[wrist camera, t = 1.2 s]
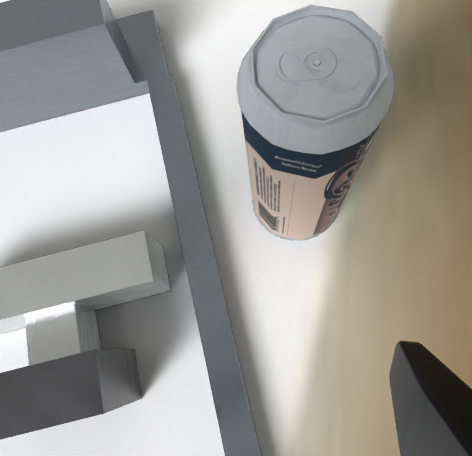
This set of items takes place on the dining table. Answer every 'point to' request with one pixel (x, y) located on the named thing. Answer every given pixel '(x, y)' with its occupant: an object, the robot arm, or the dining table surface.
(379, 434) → the dining table surface
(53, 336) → the jaw
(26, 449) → the dining table surface
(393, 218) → the dining table surface
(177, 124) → the vise base
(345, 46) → the beer can
